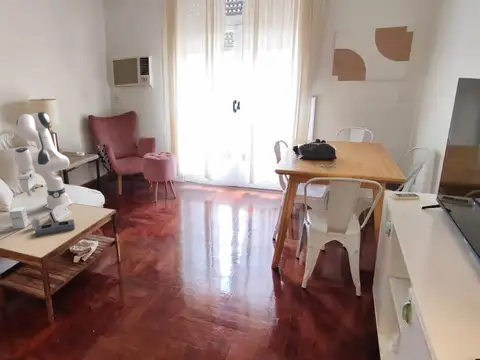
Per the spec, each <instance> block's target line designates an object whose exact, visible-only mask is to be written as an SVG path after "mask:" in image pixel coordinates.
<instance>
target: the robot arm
mask: <svg viewBox="0 0 480 360" xmlns="http://www.w3.org/2000/svg"><path fill="white" fill-rule="evenodd" d="M15 123H16V131H17V132H16V133H17V135H18V137H19V138H21V139H22V140H25V141H29V142H34V143H35V144H36V148H37V149H35V150H30V149H29V148H28V147H19V148H17V149H15V150H14V159H15V163H16V165H17V171H18V175H17V180H18V181H19V184H20V188H21V191H22V192H25V193H26V194H27V197H31V196H32V193H35V192H36V184H37V183H38V182H37V176H36V174H37V175H39V176H40V177H41V178H43V179H44V182H45V183H46V189H47V190H46V192H47V196H46V203H47V204H48V206H47V204H46V206H47V208H46V209H50V210H52V209H53V208H54V207H56V206H59V205H66V207H68V206H70V205H73V201H72V200H71V199H70V197H69V194H68V192H67V193H66V188H65V186H64V183H63V178H62V177H61V176H60V175H55V174H53V173H52V172H56V171H57V172H58V171H63V170H65V169H68V168H69V166H70V164H71V163H70V159H69V157H68V156H66V155H64V154H62V153H61V152H59V151H58V150H57V148H56V147H55V144H54V141H53V137H52V134H51V133H50V130H49V129H48V128H49V126H50V124H51V120H50V117H49V115H48V114H47V113H46V112H45V111H39V112H36V113H35V112H34V113H31V114H28V113H23V114H21V115H20V116H19V117H18V119H17V120H16V122H15Z"/></svg>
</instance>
